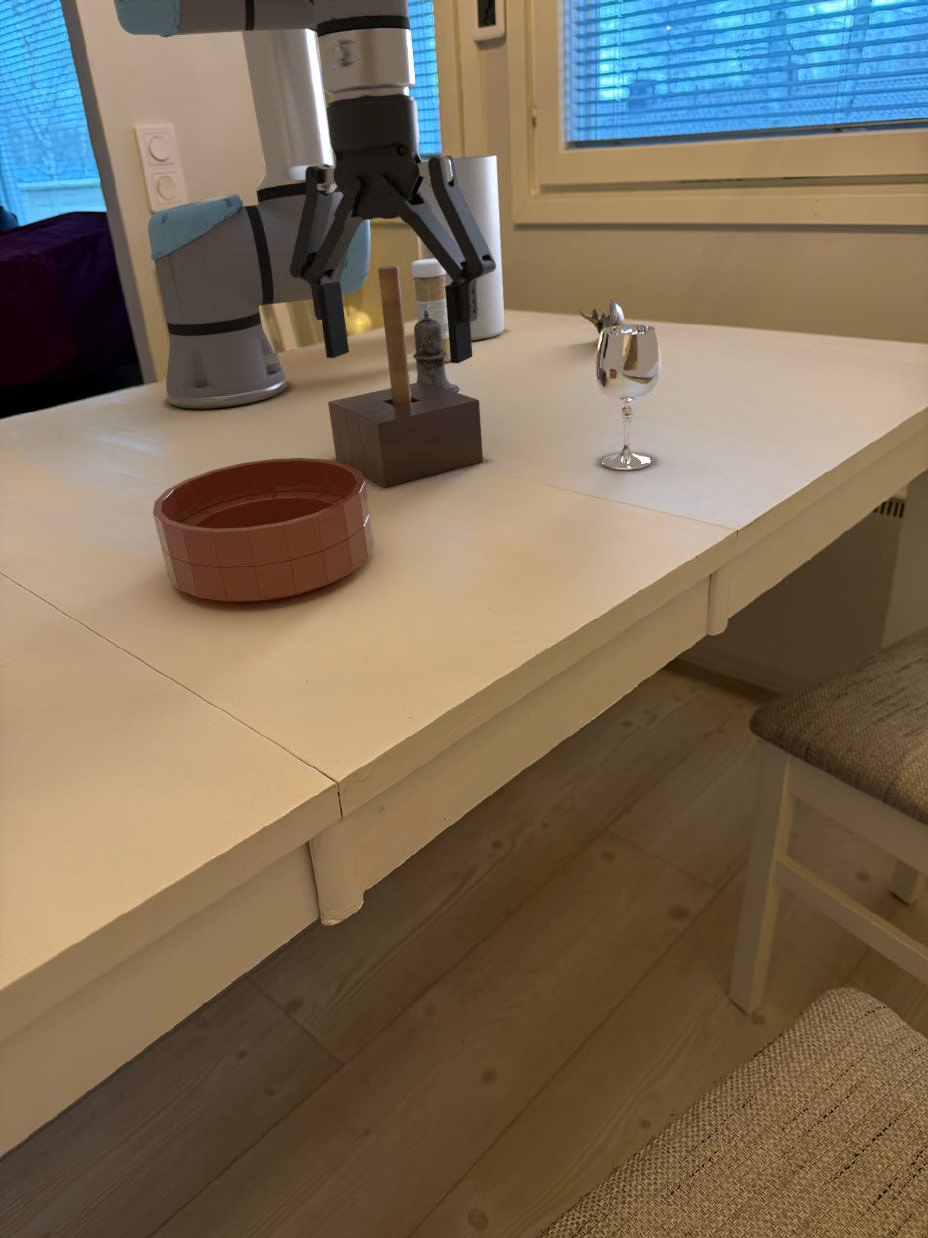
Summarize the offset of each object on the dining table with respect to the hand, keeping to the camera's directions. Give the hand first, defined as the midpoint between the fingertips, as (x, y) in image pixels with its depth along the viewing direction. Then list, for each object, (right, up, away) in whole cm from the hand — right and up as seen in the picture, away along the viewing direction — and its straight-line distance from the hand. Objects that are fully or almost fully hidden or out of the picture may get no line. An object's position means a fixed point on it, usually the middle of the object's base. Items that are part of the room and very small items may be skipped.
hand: (397, 357), depth 85 cm
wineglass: (+21, -10, 0) cm, 24 cm away
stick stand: (+1, -9, +5) cm, 10 cm away
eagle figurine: (+28, +15, +46) cm, 56 cm away
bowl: (-8, -20, -16) cm, 27 cm away
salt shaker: (+3, -3, +16) cm, 17 cm away
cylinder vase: (+6, +21, +60) cm, 64 cm away
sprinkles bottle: (+2, +12, +44) cm, 46 cm away
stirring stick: (+1, -9, +5) cm, 10 cm away
